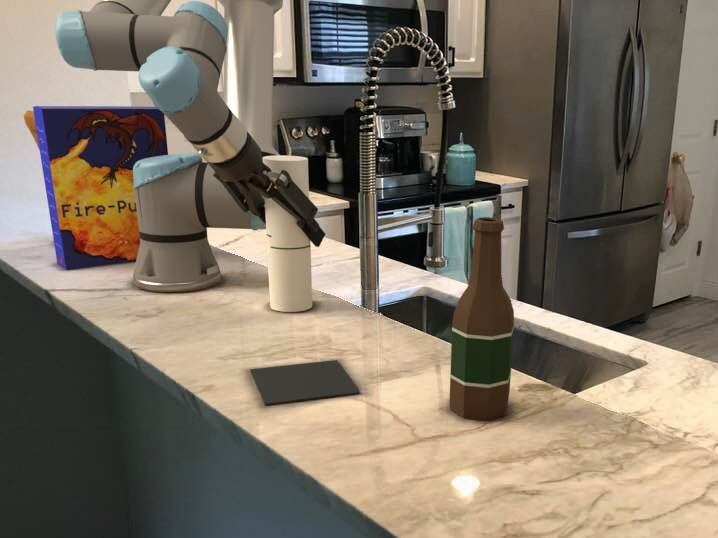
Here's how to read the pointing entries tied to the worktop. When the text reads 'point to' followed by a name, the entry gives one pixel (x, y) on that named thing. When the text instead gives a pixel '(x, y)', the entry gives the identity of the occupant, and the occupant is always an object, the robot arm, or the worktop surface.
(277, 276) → the cylindrical container
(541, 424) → the worktop surface
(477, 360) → the beer bottle
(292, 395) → the mat
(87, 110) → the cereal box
